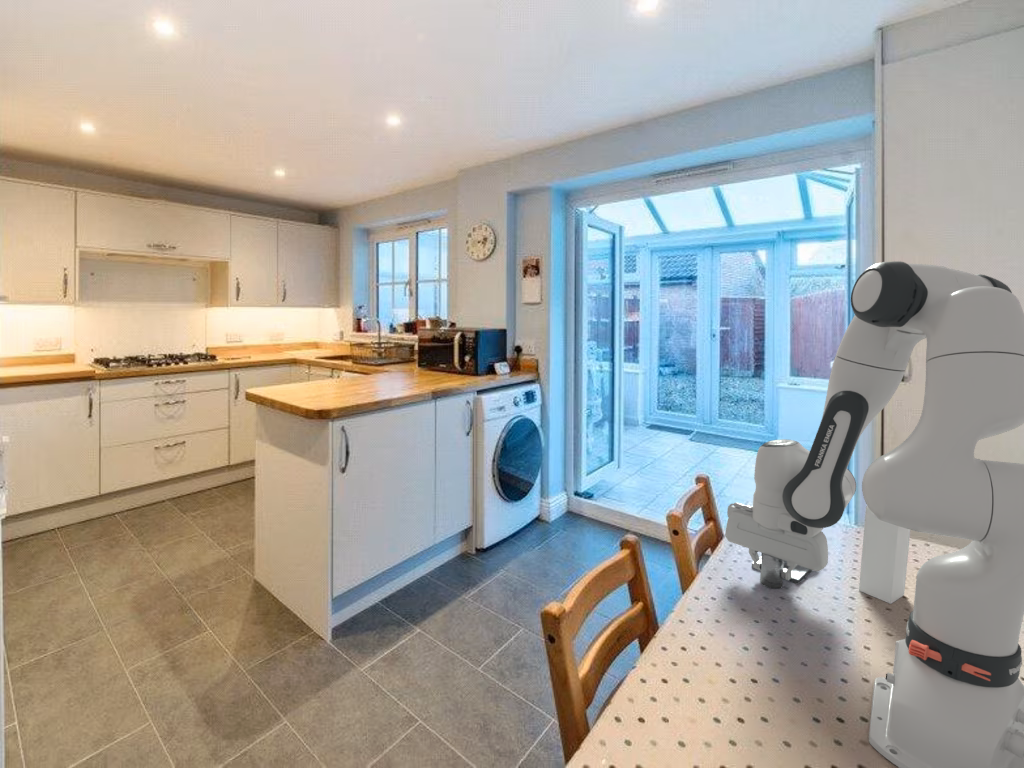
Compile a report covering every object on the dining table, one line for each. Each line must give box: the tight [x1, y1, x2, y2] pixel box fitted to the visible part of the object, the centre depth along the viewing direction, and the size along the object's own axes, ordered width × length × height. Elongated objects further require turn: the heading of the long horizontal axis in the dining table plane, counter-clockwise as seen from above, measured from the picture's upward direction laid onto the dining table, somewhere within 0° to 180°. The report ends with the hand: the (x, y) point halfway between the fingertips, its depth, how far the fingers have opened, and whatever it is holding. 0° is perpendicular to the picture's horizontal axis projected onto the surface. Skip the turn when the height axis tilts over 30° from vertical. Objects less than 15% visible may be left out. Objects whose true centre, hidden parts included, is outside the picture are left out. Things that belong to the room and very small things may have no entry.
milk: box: [858, 505, 911, 605], centre depth 103 cm, size 6×6×22 cm
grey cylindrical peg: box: [759, 553, 784, 590], centre depth 109 cm, size 4×4×7 cm
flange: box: [751, 556, 813, 585], centre depth 117 cm, size 16×10×7 cm, turn 130°
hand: (771, 573), depth 109 cm, fingers closed on grey cylindrical peg, 4 cm apart
